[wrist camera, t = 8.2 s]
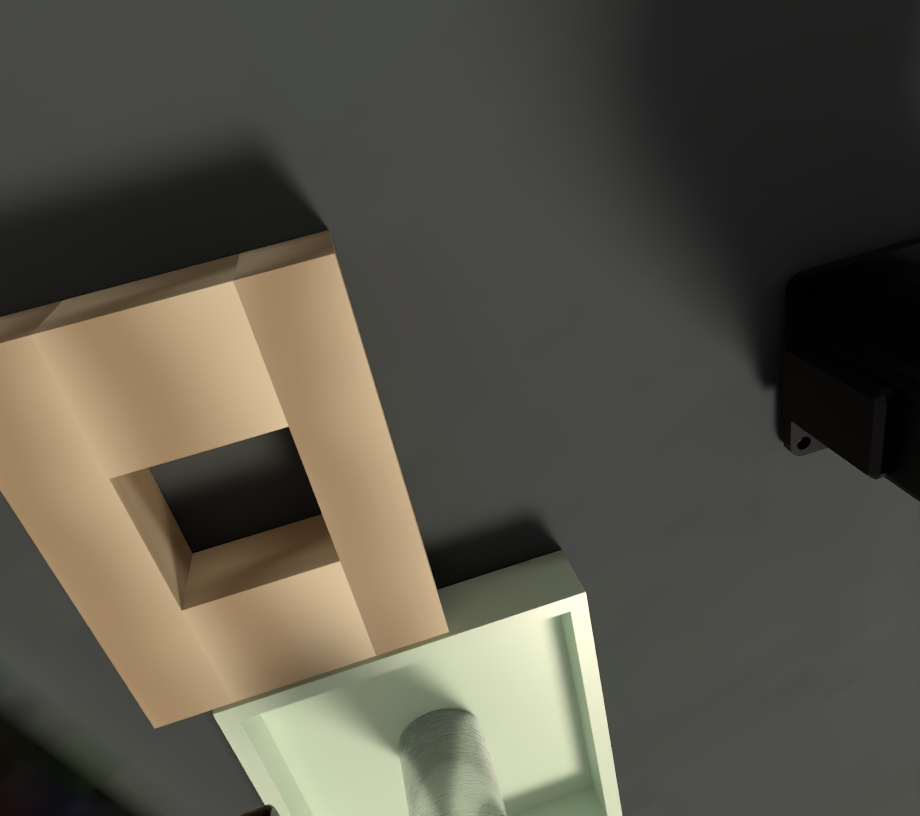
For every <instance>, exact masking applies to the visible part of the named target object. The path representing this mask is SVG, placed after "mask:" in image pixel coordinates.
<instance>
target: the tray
mask: <svg viewBox="0 0 920 816" xmlns="http://www.w3.org/2000/svg"><path fill="white" fill-rule="evenodd" d="M437 591H438V595H439V598H440V602H441V605H442V609H443V612H444V616H445V619H446V623H447V626H448V630H449V632H447V633H444V634H441V635H438V636H435V637H432V638H429V639H426V640H423V641H420V642H417V643H414V644H411V645H408V646H405V647H402V648H399V649H396V650H393V651H390V652H386V653H383V654H380V655H377V656H374V657H371V658H368V659H365V660H362V661H359V662H356V663H353V664H350V665H347V666H344V667H341V668H338V669H335V670H332V671H329V672H325V673H322V674H319V675H316V676H313V677H310V678H307V679H304V680H301V681H298V682H295V683H292V684H289V685H286V686H283V687H280V688H277V689H274V690H271V691H268V692H265V693H261V694H258V695H255V696H252V697H249V698H246V699H243V700H240V701H237V702H234V703H231V704H228V705H225V706H222V707H219V708H216V709H213V716H214V717H215V719H216V721H217V723H218V724H219V726H220V728H221V730H222V731H223V733H224V735H225V736H226V738H227V740H228V742H229V743H230V745H231V747H232V749H233V750H234V752H235V754H236V756H237V757H238V759H239V761H240V762H241V764H242V766H243V768H244V769H245V771H246V773H247V775H248V776H249V778H250V780H251V782H252V783H253V785H254V787H255V788H256V790H257V792H258V794H259V795H260V797H261V799H262V801H263V802H264V804H265V805H267V804H270V805H272V806H274V807H275V808H276V810H277V811H278V813H279V815H280V816H409V812H408V806H407V800H406V793H405V787H404V781H403V775H402V768H401V762H400V756H399V750H398V743H399V739H400V736H401V734H402V733H403V731H404V730H405V728H406V727H407V726H408V725H409V724H410V723H411V722H413V721H414V720H415V719H417V718H418V717H420V716H422V715H424V714H426V713H429V712H431V711H435V710H439V709H446V708H456V709H462V710H465V711H468V712H470V713H472V714H473V715H475V716H476V717H477V718H478V720H479V721H480V723H481V726H482V729H483V732H484V736H485V739H486V743H487V746H488V750H489V753H490V756H491V760H492V763H493V767H494V770H495V774H496V777H497V780H498V784H499V787H500V791H501V794H502V798H503V801H504V804H505V808H506V811H507V815H508V816H622V811H621V805H620V798H619V792H618V786H617V780H616V774H615V768H614V762H613V756H612V749H611V743H610V737H609V731H608V725H607V719H606V713H605V707H604V701H603V694H602V688H601V682H600V676H599V670H598V664H597V658H596V652H595V645H594V639H593V633H592V627H591V621H590V615H589V609H588V603H587V596H586V591H585V590H584V588H583V586H582V584H581V583H580V581H579V579H578V577H577V576H576V574H575V572H574V570H573V568H572V567H571V565H570V563H569V561H568V560H567V558H566V556H565V554H564V552H563V551H562V550H559V551H556V552H553V553H550V554H547V555H544V556H541V557H537V558H534V559H531V560H528V561H525V562H522V563H519V564H516V565H513V566H509V567H506V568H503V569H500V570H497V571H494V572H491V573H488V574H485V575H481V576H478V577H475V578H472V579H469V580H466V581H463V582H460V583H457V584H453V585H450V586H447V587H444V588H441V589H438V590H437Z"/></svg>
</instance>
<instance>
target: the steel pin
mask: <svg viewBox="0 0 920 816" xmlns="http://www.w3.org/2000/svg"><path fill="white" fill-rule="evenodd" d="M398 750H399V756H400V762H401V768H402V775H403V781H404V787H405V793H406V800H407V806H408V812H409V816H508V815H507V811H506V808H505V804H504V801H503V798H502V794H501V791H500V787H499V784H498V780H497V777H496V774H495V770H494V767H493V763H492V760H491V756H490V753H489V750H488V746H487V743H486V739H485V736H484V732H483V729H482V726H481V723H480V721H479V720H478V718H477V717H476V716H475V715H473V714H472V713H470V712H468V711H465V710H462V709H456V708H446V709H439V710H435V711H431V712H429V713H426V714H424V715H422V716H420V717H418V718H417V719H415V720H414V721H413V722H411V723H410V724H409V725H408V726H407V727H406V728H405V730H404V731H403V733H402V734H401V736H400V739H399V743H398Z"/></svg>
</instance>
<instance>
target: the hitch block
mask: <svg viewBox="0 0 920 816" xmlns="http://www.w3.org/2000/svg"><path fill="white" fill-rule="evenodd" d="M285 427H289V429H290V431H291V434H292V436H293V439H294V442H295V444H296V447H297V450H298V452H299V455H300V457H301V460H302V463H303V465H304V468H305V470H306V473H307V476H308V478H309V481H310V484H311V486H312V489H313V491H314V494H315V497H316V499H317V502H318V505H319V507H320V510H321V512H322V514H321V515H317V516H314V517H311V518H308V519H304V520H301V521H298V522H294V523H291V524H288V525H285V526H281V527H278V528H275V529H271V530H268V531H265V532H262V533H258V534H255V535H252V536H249V537H245V538H242V539H239V540H235V541H232V542H229V543H226V544H222V545H219V546H216V547H212V548H209V549H206V550H203V551H199V552H196V553H193V554H192V552H191V550H190V548H189V546H188V544H187V542H186V540H185V538H184V536H183V534H182V532H181V530H180V528H179V526H178V524H177V522H176V520H175V518H174V516H173V514H172V512H171V511H170V509H169V507H168V505H167V503H166V501H165V499H164V497H163V495H162V493H161V491H160V489H159V487H158V485H157V483H156V481H155V479H154V477H153V475H152V473H151V471H150V469H149V468H148V467H152V466H155V465H158V464H162V463H165V462H169V461H172V460H176V459H179V458H183V457H186V456H189V455H193V454H196V453H200V452H203V451H207V450H210V449H213V448H217V447H220V446H224V445H227V444H231V443H234V442H237V441H241V440H244V439H248V438H251V437H255V436H258V435H261V434H265V433H268V432H272V431H275V430H279V429H282V428H285ZM0 490H1V492H2V494H3V495H4V497H5V498H6V500H7V501H8V503H9V504H10V506H11V507H12V509H13V511H14V512H15V514H16V515H17V517H18V518H19V520H20V521H21V523H22V524H23V526H24V527H25V529H26V531H27V532H28V534H29V535H30V537H31V538H32V540H33V541H34V543H35V544H36V546H37V548H38V549H39V551H40V552H41V554H42V555H43V557H44V558H45V560H46V561H47V563H48V565H49V566H50V568H51V569H52V571H53V572H54V574H55V575H56V577H57V578H58V580H59V582H60V583H61V585H62V586H63V588H64V589H65V591H66V592H67V594H68V595H69V597H70V599H71V600H72V602H73V603H74V605H75V606H76V608H77V609H78V611H79V612H80V614H81V615H82V617H83V619H84V620H85V622H86V623H87V625H88V626H89V628H90V629H91V631H92V632H93V634H94V636H95V637H96V639H97V640H98V642H99V643H100V645H101V646H102V648H103V649H104V651H105V653H106V654H107V656H108V657H109V659H110V660H111V662H112V663H113V665H114V666H115V668H116V670H117V671H118V673H119V674H120V676H121V677H122V679H123V680H124V682H125V683H126V685H127V687H128V688H129V690H130V691H131V693H132V694H133V696H134V697H135V699H136V700H137V702H138V703H139V705H140V707H141V708H142V710H143V711H144V713H145V714H146V716H147V717H148V719H149V720H150V722H151V724H152V725H153V727H154V728H158V727H161V726H164V725H167V724H170V723H173V722H176V721H179V720H182V719H185V718H188V717H191V716H194V715H197V714H200V713H204V712H207V711H210V710H213V709H216V708H219V707H222V706H225V705H228V704H231V703H234V702H237V701H240V700H243V699H246V698H249V697H252V696H255V695H258V694H261V693H265V692H268V691H271V690H274V689H277V688H280V687H283V686H286V685H289V684H292V683H295V682H298V681H301V680H304V679H307V678H310V677H313V676H316V675H319V674H322V673H325V672H329V671H332V670H335V669H338V668H341V667H344V666H347V665H350V664H353V663H356V662H359V661H362V660H365V659H368V658H371V657H374V656H377V655H380V654H383V653H386V652H390V651H393V650H396V649H399V648H402V647H405V646H408V645H411V644H414V643H417V642H420V641H423V640H426V639H429V638H432V637H435V636H438V635H441V634H444V633H447V632H449V630H448V626H447V623H446V619H445V616H444V612H443V609H442V605H441V602H440V598H439V595H438V591H437V588H436V584H435V581H434V577H433V574H432V571H431V567H430V564H429V561H428V557H427V554H426V551H425V547H424V544H423V541H422V537H421V534H420V531H419V527H418V524H417V521H416V517H415V514H414V511H413V507H412V504H411V501H410V497H409V494H408V491H407V488H406V484H405V481H404V478H403V474H402V471H401V468H400V464H399V461H398V458H397V454H396V451H395V448H394V444H393V441H392V438H391V434H390V431H389V428H388V424H387V421H386V418H385V414H384V411H383V408H382V405H381V401H380V398H379V395H378V391H377V388H376V385H375V381H374V378H373V375H372V371H371V368H370V365H369V361H368V358H367V355H366V351H365V348H364V345H363V341H362V338H361V335H360V331H359V328H358V325H357V321H356V318H355V315H354V312H353V308H352V305H351V302H350V298H349V295H348V292H347V288H346V285H345V282H344V278H343V275H342V272H341V268H340V265H339V262H338V258H337V255H336V252H335V248H334V245H333V242H332V238H331V235H330V232H329V230H327V231H323V232H319V233H315V234H312V235H308V236H304V237H300V238H297V239H293V240H289V241H285V242H281V243H278V244H274V245H270V246H266V247H263V248H259V249H255V250H251V251H247V252H244V253H240V254H236V255H232V256H229V257H225V258H221V259H217V260H213V261H210V262H206V263H202V264H198V265H195V266H191V267H187V268H183V269H180V270H176V271H172V272H168V273H164V274H161V275H157V276H153V277H149V278H146V279H142V280H138V281H134V282H130V283H127V284H123V285H119V286H115V287H112V288H108V289H104V290H100V291H96V292H93V293H89V294H85V295H81V296H78V297H74V298H70V299H66V300H62V301H59V302H55V303H51V304H47V305H44V306H40V307H36V308H32V309H29V310H25V311H21V312H17V313H13V314H10V315H6V316H2V317H0Z"/></svg>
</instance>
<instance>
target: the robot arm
mask: <svg viewBox="0 0 920 816" xmlns="http://www.w3.org/2000/svg"><path fill="white" fill-rule="evenodd" d="M807 284H808V289H807V291H806V292H805V293H804V294H802V290H803V288H804V287H805V286H806V285H807ZM782 413H783V415H784V430H783V443H784V446H785V447H786V449H788V450H789V451H790V452H791V453H793V454H794V455H797V456H802V455H806V454H809V453H812V452H816V451H819V450H822V449H825V448H830V449H831V450H832V451H834V452H835V453H837V454H838V455H839V456H841V457H842V458H844V459H845V460H846V461H848V462H849V463H851V464H852V465H853V466H855V467H856V468H858V469H859V470H860V471H862V472H863V473H865V474H866V475H868V476H869V477H871V478H873V479H878V478H881V477H885V478H886V479H888V480H889V481H891V482H892V483H894V484H895V485H897V486H898V487H899V488H901V489H902V490H904V491H905V492H907V493H908V494H910V495H911V496H912V497H914V498H915V499H917V500H918V501H920V238H916V239H913V240H909V241H906V242H902V243H899V244H896V245H892V246H889V247H885V248H882V249H878V250H875V251H871V252H868V253H865V254H861V255H858V256H854V257H851V258H847V259H844V260H840V261H837V262H834V263H830V264H827V265H823V266H820V267H816V268H813V269H810V270H806V271H803V272H800V273H798V274H796V275H795V276H794V277H793V278H792V279H791V280H790V282H789V283H788V285H787V289H786V320H785V348H784V351H783V403H782ZM801 438H802V440H801V441H800V442H799V443H798V441H799V440H800V439H801ZM239 816H280V815H279V813H278V811H277V810H276V808H275V807H274V806H272V805H270V804H267V805H264V806H261V807H258V808H255V809H252V810H249V811H246V812H244V813H242V814H240V815H239Z"/></svg>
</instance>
